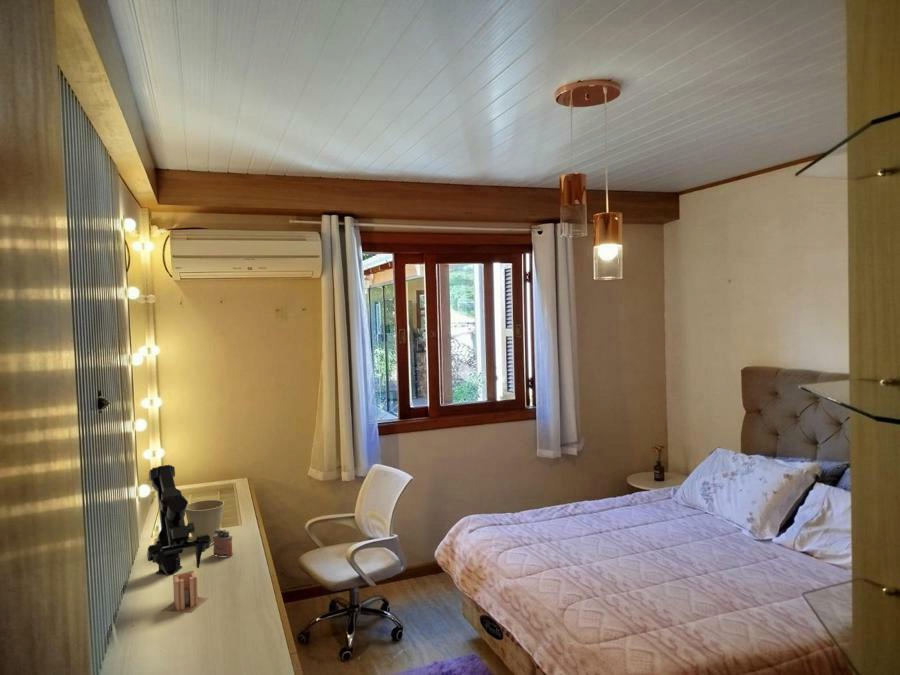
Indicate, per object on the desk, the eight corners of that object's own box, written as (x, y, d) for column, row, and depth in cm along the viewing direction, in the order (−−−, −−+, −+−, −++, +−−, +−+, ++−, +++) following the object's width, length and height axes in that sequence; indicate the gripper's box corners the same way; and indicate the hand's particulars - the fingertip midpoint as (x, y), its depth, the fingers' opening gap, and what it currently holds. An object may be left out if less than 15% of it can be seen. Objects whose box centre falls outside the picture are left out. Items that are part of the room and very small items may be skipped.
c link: (174, 603, 193) (173, 575, 193) (194, 598, 197) (193, 570, 196) (177, 610, 188) (176, 581, 188) (197, 605, 192) (197, 577, 191)
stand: (161, 613, 188) (161, 596, 188) (181, 598, 198) (180, 582, 198) (191, 615, 187) (190, 598, 187) (209, 600, 197) (208, 584, 196)
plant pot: (216, 550, 240) (215, 510, 240) (179, 550, 241) (178, 510, 240) (230, 536, 255) (229, 499, 255) (196, 537, 256) (194, 499, 255)
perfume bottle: (234, 554, 235) (234, 529, 235) (229, 557, 232) (228, 532, 232) (217, 552, 237) (216, 527, 237) (211, 556, 234) (210, 530, 234)
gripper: (147, 521, 194) (153, 566, 185) (208, 510, 204) (217, 552, 195) (144, 538, 201) (150, 583, 192) (204, 527, 211) (212, 568, 202)
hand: (183, 571), depth 195 cm, fingers open, 9 cm apart
